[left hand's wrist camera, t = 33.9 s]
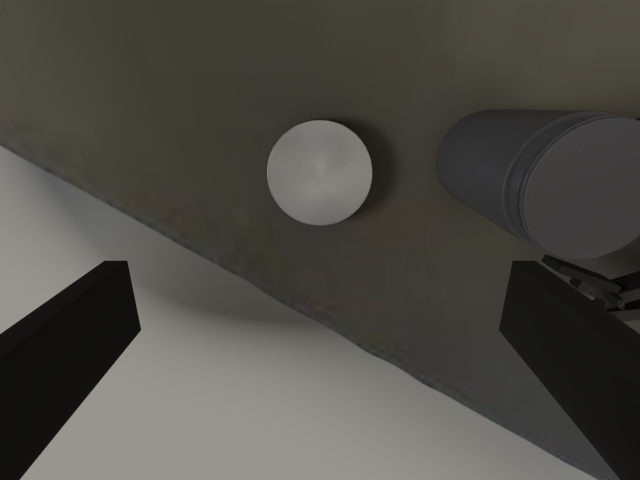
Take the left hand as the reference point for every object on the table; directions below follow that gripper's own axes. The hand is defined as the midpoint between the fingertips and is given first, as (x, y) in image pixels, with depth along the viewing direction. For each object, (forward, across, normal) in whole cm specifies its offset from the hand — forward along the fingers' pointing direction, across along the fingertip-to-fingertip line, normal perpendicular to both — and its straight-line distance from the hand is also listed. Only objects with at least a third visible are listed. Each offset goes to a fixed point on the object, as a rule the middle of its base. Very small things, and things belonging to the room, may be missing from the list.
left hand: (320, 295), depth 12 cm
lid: (+25, 0, 0) cm, 25 cm away
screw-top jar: (+27, +17, +1) cm, 32 cm away
